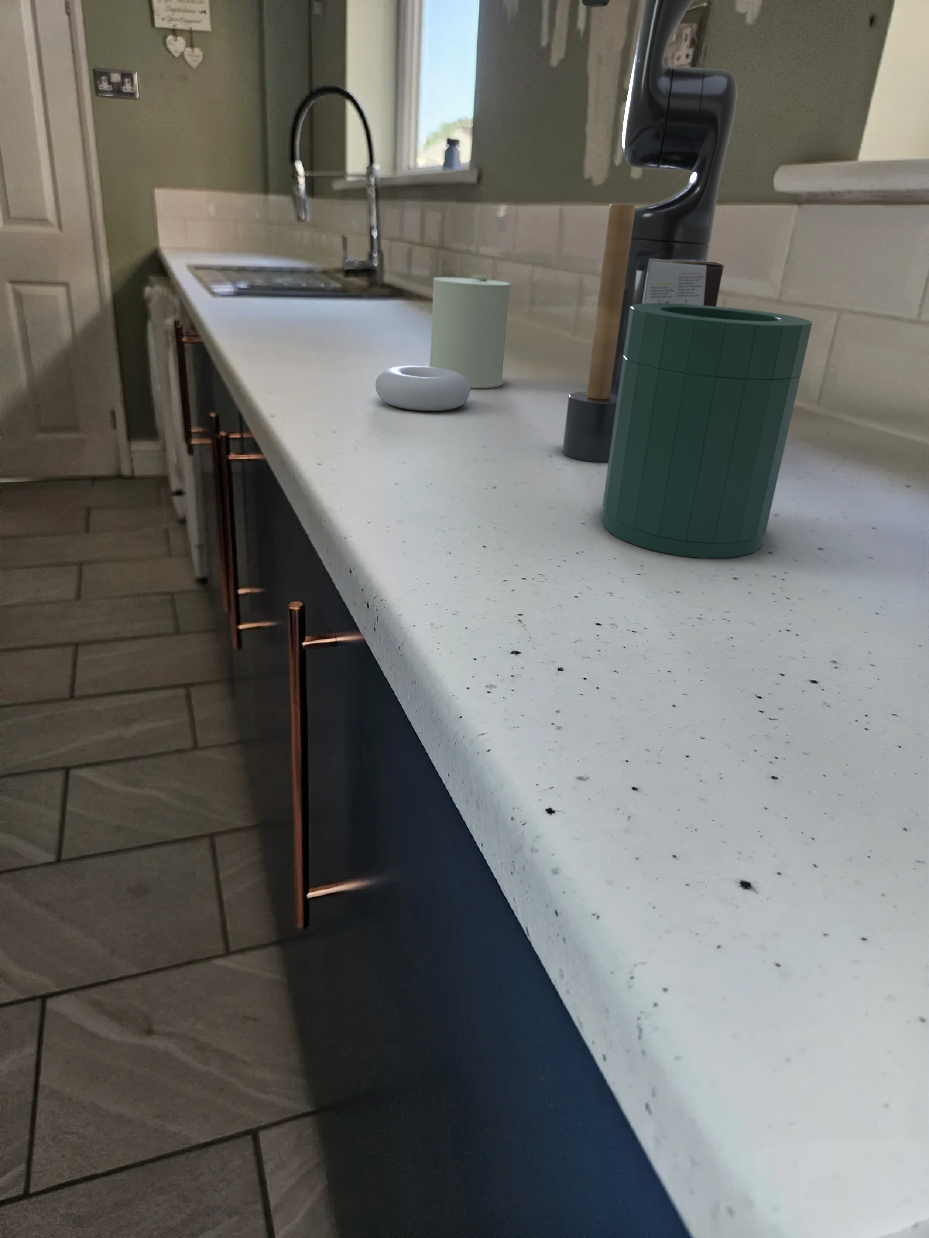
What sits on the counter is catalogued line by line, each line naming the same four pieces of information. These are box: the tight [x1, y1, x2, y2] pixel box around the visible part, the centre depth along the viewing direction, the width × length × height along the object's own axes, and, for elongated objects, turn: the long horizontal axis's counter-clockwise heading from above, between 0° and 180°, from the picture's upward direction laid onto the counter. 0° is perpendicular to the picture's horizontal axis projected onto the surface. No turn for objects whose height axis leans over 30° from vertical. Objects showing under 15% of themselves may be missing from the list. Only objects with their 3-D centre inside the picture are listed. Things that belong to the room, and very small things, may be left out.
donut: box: [375, 365, 471, 412], centre depth 91 cm, size 10×4×10 cm
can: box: [429, 275, 512, 389], centre depth 104 cm, size 9×9×12 cm
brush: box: [561, 203, 636, 463], centre depth 73 cm, size 5×5×20 cm
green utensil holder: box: [601, 303, 813, 559], centre depth 56 cm, size 11×11×14 cm
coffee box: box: [642, 259, 725, 307], centre depth 81 cm, size 9×6×16 cm
